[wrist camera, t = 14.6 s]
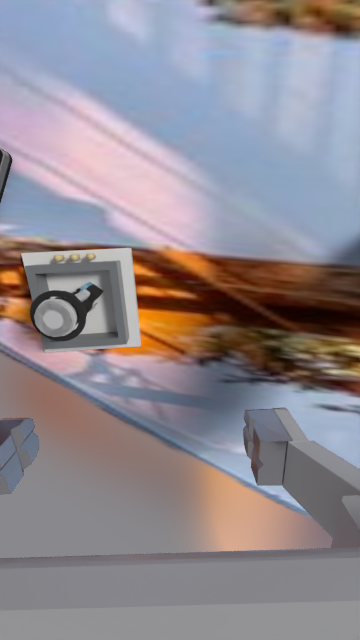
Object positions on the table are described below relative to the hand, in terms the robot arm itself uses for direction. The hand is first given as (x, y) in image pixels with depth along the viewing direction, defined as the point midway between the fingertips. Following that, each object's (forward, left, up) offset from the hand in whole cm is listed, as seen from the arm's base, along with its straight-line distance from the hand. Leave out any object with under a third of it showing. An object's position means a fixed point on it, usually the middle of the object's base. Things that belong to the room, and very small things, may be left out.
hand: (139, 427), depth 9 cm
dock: (+10, 0, -26) cm, 27 cm away
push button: (+10, 0, -25) cm, 27 cm away
